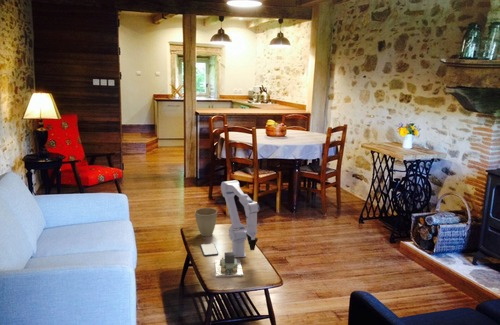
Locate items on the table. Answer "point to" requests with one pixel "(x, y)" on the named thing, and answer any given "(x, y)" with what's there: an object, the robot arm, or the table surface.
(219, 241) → the table surface
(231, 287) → the table surface
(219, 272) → the plate
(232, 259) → the green and grey block
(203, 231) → the plant pot
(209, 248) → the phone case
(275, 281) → the table surface
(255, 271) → the table surface
